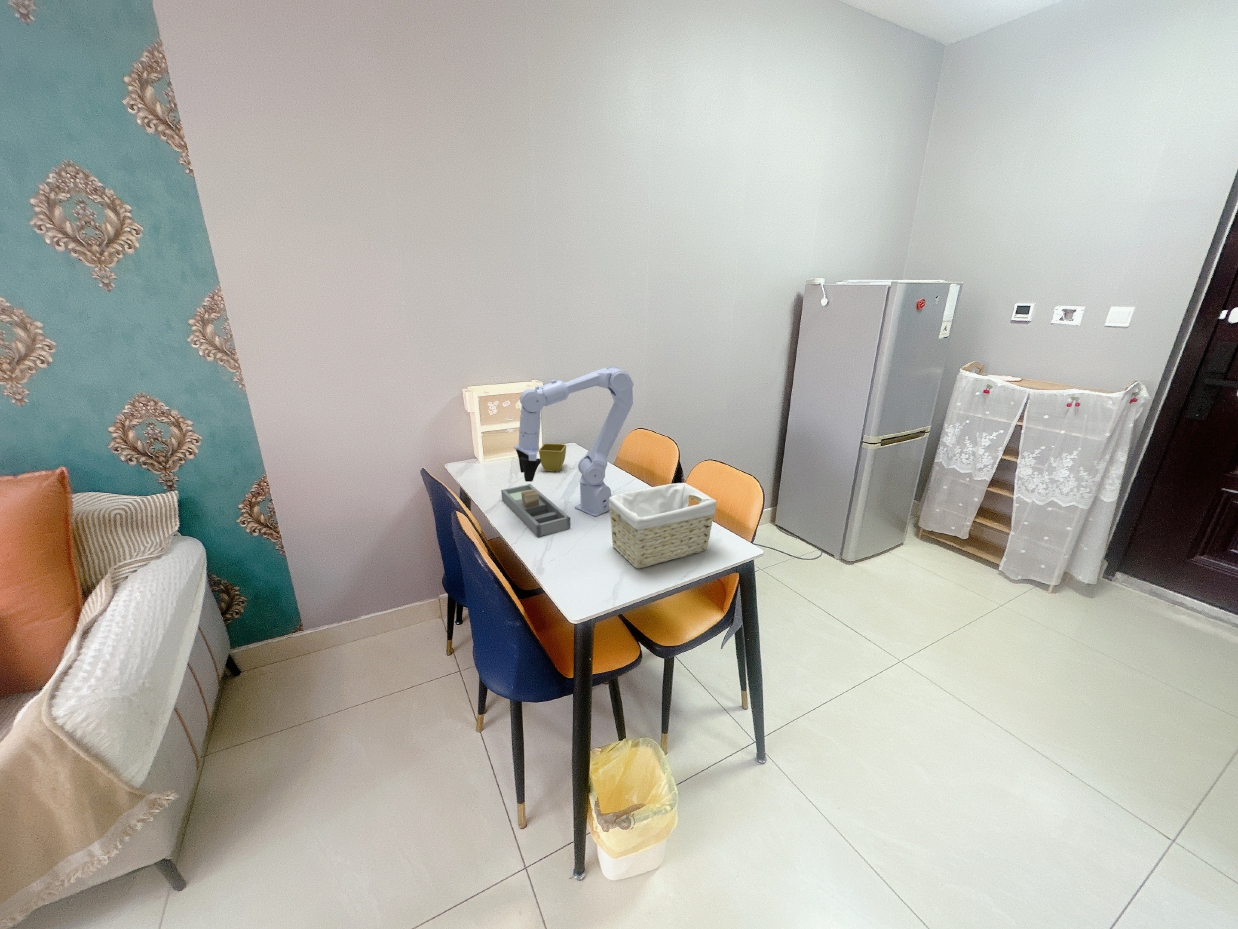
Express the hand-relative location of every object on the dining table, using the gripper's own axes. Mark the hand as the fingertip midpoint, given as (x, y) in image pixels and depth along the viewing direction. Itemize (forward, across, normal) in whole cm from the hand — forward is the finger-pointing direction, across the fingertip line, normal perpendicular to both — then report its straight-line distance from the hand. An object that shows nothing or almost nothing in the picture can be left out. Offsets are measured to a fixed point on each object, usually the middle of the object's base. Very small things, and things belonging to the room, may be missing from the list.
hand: (526, 476), depth 142 cm
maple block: (+10, -4, +3) cm, 11 cm away
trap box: (+12, -1, +3) cm, 13 cm away
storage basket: (+9, +32, +30) cm, 45 cm away
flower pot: (+11, -37, +18) cm, 43 cm away
